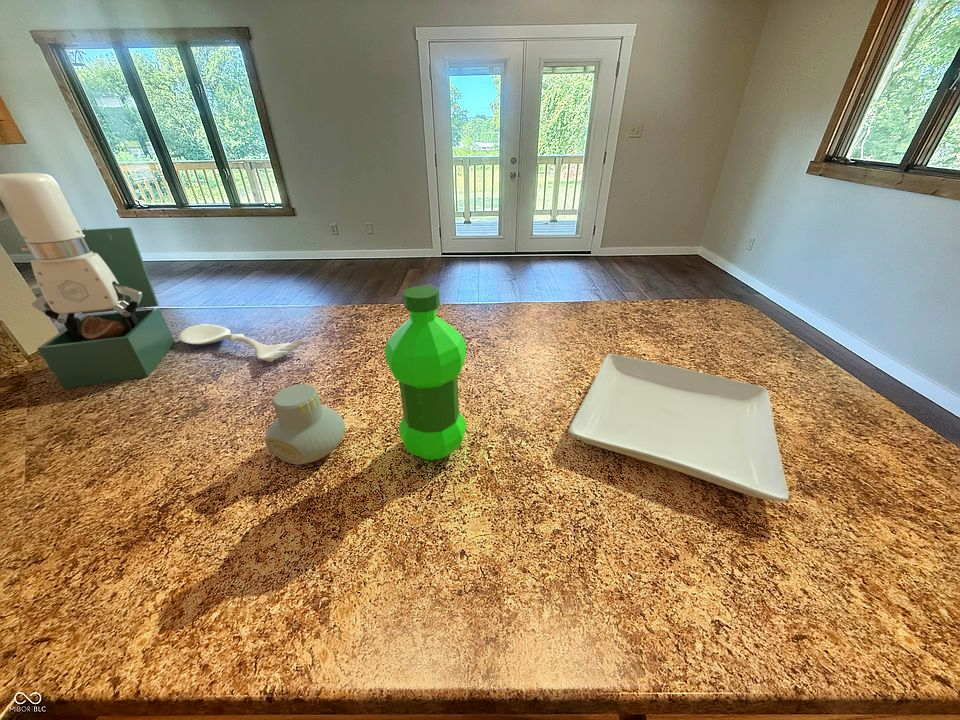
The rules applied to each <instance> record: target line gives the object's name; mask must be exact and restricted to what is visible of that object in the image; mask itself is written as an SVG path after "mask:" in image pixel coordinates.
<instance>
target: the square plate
mask: <svg viewBox="0 0 960 720" xmlns="http://www.w3.org/2000/svg"><path fill="white" fill-rule="evenodd" d="M574 415H575V416H574V417H573V419H572V421H571V423H570V425H569V428H568V434H569V435H570V436H573V438H576V440H580V441H582V442H584V443H586V444H589V445H592V446H594V447H595V446H596V447H597V448H601V449H604V450H608V451H610V452H614V453H618V454H621V455H625V456H628V457H631V458H634V459H638V460H641V461H645V462H648V463H652V464H654V465H658V466H661V467H664V468H667V469H670V470H674V471H676V472H679V473H682V474H686V475H688V476H691V477H694V478H697V479H700V480H703V481H706V482H708V483H712V484H713V485H714V484H715V485H716V486H720V487H723V488H725V489H728V490H731V491H734V492H738V493H741V494H744V495H747V496H749V497H754V498H757V499H760V500H765V501H773V502H779V503H780V502H781V503H782V502H788V501H789V499H790V494H789V489H788V483H787V479H786V475H785V470H784V466H783V462H782V457H781V452H780V447H779V444H778V438H777V433H776V428H775V427H776V426H775V421H774V415H773V409H772V405H771V398H770V393H769V391H768V389H767V388H766V387H763V386H760V385H756V384H752V383H748V382H744V381H740V380H736V379H731V378H727V377H723V376H718V375H714V374H711V373H706V372H702V371H697V370H694V369H689V368H686V367H685V368H684V367H680V366H675V365H671V364H666V363H661V362H656V361H652V360H647V359H640V358H635V357H630V356H625V355H622V354H621V355H620V354H615V353H607V354H606V355H605V356H604V359H603V361H602V362H601V365H600V367H599V368H598V371H597V373H596V375H595V378H594V380H593V382H592V384H591V385H590V388H589V390H588V392H587V394H586V396H585V397H584V399H583V401H582V403H581V404H580V406H579V408H578V410H577V412H576V414H574Z"/></svg>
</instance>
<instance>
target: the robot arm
mask: <svg viewBox="0 0 960 720" xmlns="http://www.w3.org/2000/svg"><path fill="white" fill-rule="evenodd" d="M10 219H11V220H12V222H13V223H14V225H15V227H16V229H17V230H18V232H19V233H20V235H21V237H22V239H23V240H24V244H21V245H20V246H19V249H20V250H21V252H23V253H25V254H26V253H28V254H31V256H32V257H33V258H34V259H32V260H30V265H31V268H32V272H33V275H34V279H35V280H36V283H37V285H38V287H39V289H40V291H41V293H42V294H41V295H40V296H39V297H38V298H37V299H35V300H34V301H33V302H32V303H31V306H32V307H33V308H35V309H37V310H38V311H40V312H41V313H43V314H44V315H45V316H47V317H49V318H51V319H53V320H56V321H57V323H58V324H61V325H64V327H65V329H67V330H68V332H69V334H70V335H71V336H72V337H73V338H74V340H75V341H76V342H80V341H82V340H83V339H84V337H83V336H82V335H81V332H80V330H81V325H82V322H81V321H80V318H79V317H75V315H76V314H79V313H81V314H82V312H90V311H100V310H108V309H114V310H115V311H114V312H118V313H120V314H122V315H123V317H122V318H121V319H122V321H123V323H124V325H125V327H126V329H127V331H128V333H129V332H130V331H131V330H132V329H133V328H134V327H135V326H137V325H138V324H139V322H138V320H137V318H136V316H135V314H134V312H135V311H136V310H138V308H137V307H138V306H139V304H140V301H141V298H142V292H140V291H138V290H135V289H132V288H129V287H126V286H123V285H120V284H119V283H118V281H117V280H116V278H115V276H114V275H113V273H112V272H111V270H110V269H109V267H108V266H107V264H106V263H105V262H104V261H103V259H102V258H101V257H100V256H99V255H98V254H97V253H93V252H92V250H91V248H90V246H89V244H88V242H87V240H86V238H85V236H84V234H83V232H82V230H83V229H81V227H80V224H79V223H78V221H77V219H76V217H75V215H74V213H73V210H72V208H71V207H70V205H69V203H68V201H67V199H66V197H65V194H63V192H62V189H61V188H60V186H59V184H58V182H57V181H56V179H55V178H53V177H52V176H51V175H50V174H46V173H43V172H16V173H15V172H14V173H3V174H2V173H0V222H2V221H5V220H10ZM125 295H127V296H129V297H130V298H131V301H130V303H129V304H128V303H127V302H125V301H124V300H125Z"/></svg>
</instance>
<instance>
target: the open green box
mask: <svg viewBox="0 0 960 720" xmlns="http://www.w3.org/2000/svg"><path fill="white" fill-rule="evenodd" d="M134 314H135V316H136V318H137V320H138V322H139V324H138V325H137V326H135V327H134V328H133V329H132V330H131V331H130V332H129V333H128V332H127V333H126V334H125V335H123V336H122V337H116V338H108V339H100V340H88V339H86V338H84V339H83V340H82V341H80V342H76V341H75V340H74V338H73V337H72V336H71V335H70V334H69V332H68V330H67V329H66V328H65V329H64V328H63V330H61V331H60V332H59V333H57V334H56V335H54V336H53V337H52V338H50V339H48V340H47V341H46V342H44V343H43V344H42V345H40V346H39V347H37V348H36V349H37V351H38V352H39V354H40V356H41V357H42V358H43V360H44V361H45V363H46V364H47V366H48V367H49V369H50V371H51V372H52V373H53V375H54V376H55V378H56V379H57V381H58V382H59V384H60V385H61V387H62V388H63V389H64V390H67V389H73V388H72V387H74V388H79V387H80V386H81V387H87V386H94V385H99V384H100V385H102V384H108V383H114V382H122V381H129V380H135V379H136V380H137V379H142V378H149V377H150V376H151V374H152V373H153V371H154V370H155V369H156V368H157V366H158V365H159V364H160V363H161V361H162V360H163V358H164V357H166V355H167V354H168V352H170V350H171V349H172V347H173V346H174V345H175V344H176V341H175V339H174V337H173V335H172V332H171V330H170V328H169V326H168V324H167V322H166V320H165V317H164V315H163V312H162V310H161V308H160V307H154V308H153V307H151V308H142V309H136V311H135V312H134ZM87 315H88V316H93V317H98V318H99V317H100V319H104V320H106V319H107V320H113V321H117V322H120V323H123V321H122V319H121V318H122V317H123V315H122V314H120V313H118V312H117V311H114V312H107V313H106V312H104V313H97V314H96V313H95V314H85V315H83V316H82V317H80V318H79V319H80V321H81V322H82V323H83V321H84V320H85V318H86V317H87ZM123 324H124V323H123Z"/></svg>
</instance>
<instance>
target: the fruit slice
mask: <svg viewBox="0 0 960 720" xmlns="http://www.w3.org/2000/svg"><path fill="white" fill-rule="evenodd" d="M86 315H87V317H86V318H85V320H84V321H83V323H82V325H81V330H80V332H81V335H82V336H83V337H84V338H86V339H88V340H100V339H108V338H116V337H122V336H123V335H125V334H126V333H127V332H128V331H127V329H126V327H125V325H124V324H123V323H120V322H117V321H113V320H107V319H106V320H104V319H100V317H99V318H98V317H93V316H88V315H89V314H86Z"/></svg>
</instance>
